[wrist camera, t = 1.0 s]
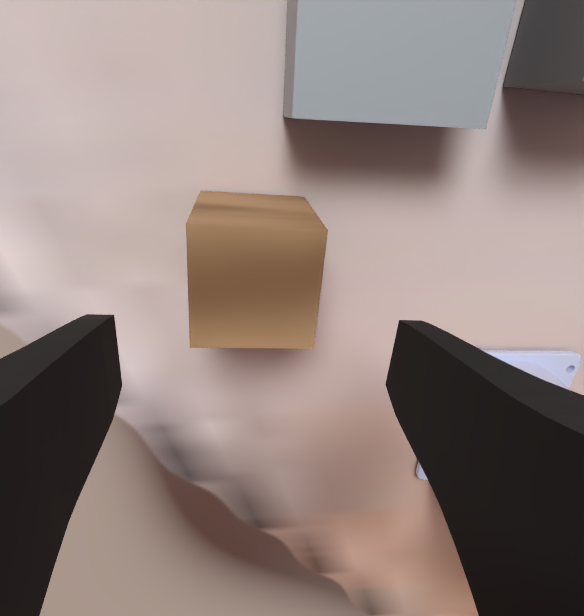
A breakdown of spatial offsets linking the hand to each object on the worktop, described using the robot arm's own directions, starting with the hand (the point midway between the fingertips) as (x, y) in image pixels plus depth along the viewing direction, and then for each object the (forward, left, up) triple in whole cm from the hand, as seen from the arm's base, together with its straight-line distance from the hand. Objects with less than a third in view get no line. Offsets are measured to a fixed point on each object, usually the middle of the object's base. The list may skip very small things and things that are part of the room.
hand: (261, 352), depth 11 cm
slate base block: (+9, -5, -10) cm, 14 cm away
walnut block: (0, 0, -10) cm, 10 cm away
